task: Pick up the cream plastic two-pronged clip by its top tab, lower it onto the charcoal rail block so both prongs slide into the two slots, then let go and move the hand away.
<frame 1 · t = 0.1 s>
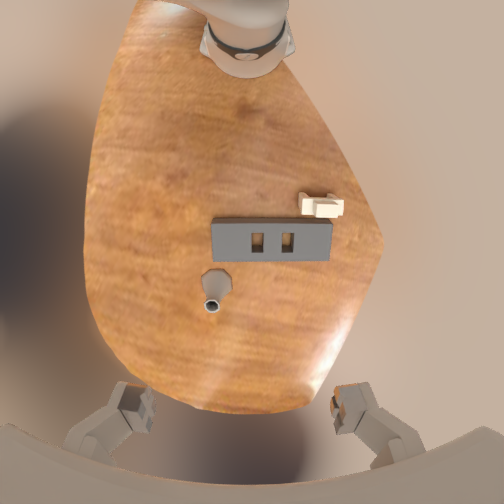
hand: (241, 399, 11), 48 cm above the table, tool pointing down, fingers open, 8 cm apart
rail: (271, 236, 58), on the table
clip: (315, 199, 56), on the table
flask: (217, 281, 63), on the table
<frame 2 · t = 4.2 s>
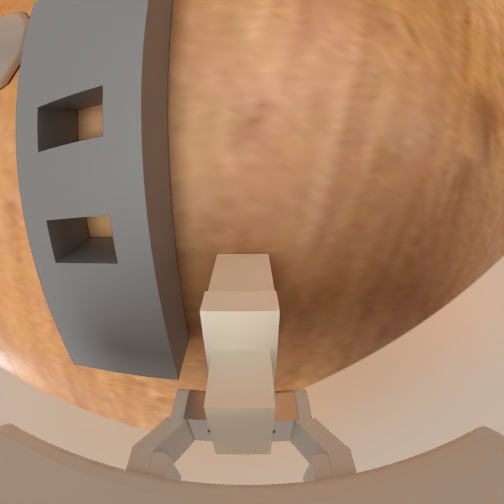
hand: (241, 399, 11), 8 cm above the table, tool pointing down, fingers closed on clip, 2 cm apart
rail: (107, 170, 14), on the table
clip: (243, 305, 18), on the table, touching gripper
flask: (7, 53, 10), on the table
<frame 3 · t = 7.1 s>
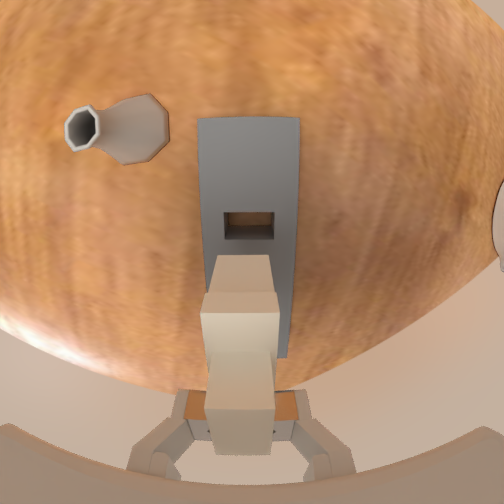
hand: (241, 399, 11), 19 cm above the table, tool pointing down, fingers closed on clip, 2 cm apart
rail: (249, 242, 28), on the table
clip: (244, 306, 18), point 11 cm above the table, touching gripper
flask: (137, 129, 24), on the table
when the fingers open (8 cm above the table, at t = 10.0 s): clip stays where it is, resting in rail.
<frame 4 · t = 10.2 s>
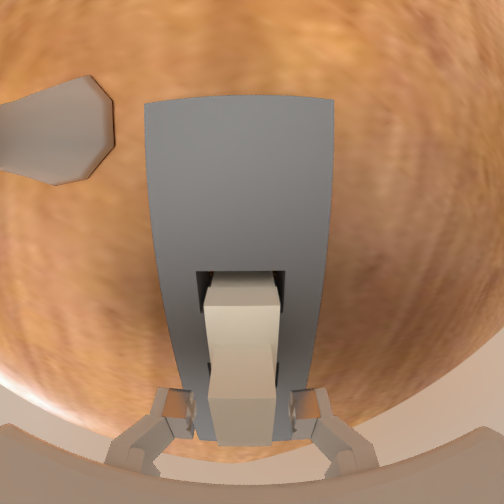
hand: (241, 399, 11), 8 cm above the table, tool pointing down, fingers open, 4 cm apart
rail: (243, 301, 18), on the table
clip: (244, 302, 18), resting in rail
flask: (73, 130, 14), on the table
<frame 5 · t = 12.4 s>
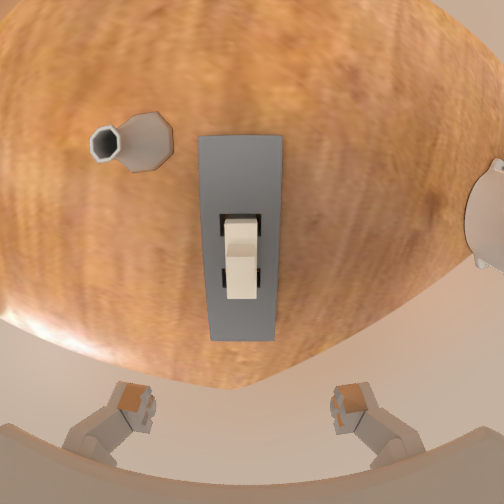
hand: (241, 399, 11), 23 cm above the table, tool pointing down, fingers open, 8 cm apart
rail: (241, 239, 33), on the table
clip: (242, 240, 33), resting in rail
flask: (145, 142, 28), on the table
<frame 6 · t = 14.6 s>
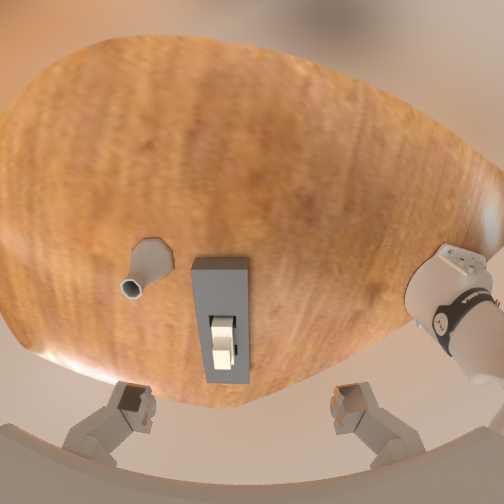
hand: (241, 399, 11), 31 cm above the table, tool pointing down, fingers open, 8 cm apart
rail: (225, 321, 47), on the table
clip: (226, 322, 47), resting in rail
flask: (153, 257, 42), on the table
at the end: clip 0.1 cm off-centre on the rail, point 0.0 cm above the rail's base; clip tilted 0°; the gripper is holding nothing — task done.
